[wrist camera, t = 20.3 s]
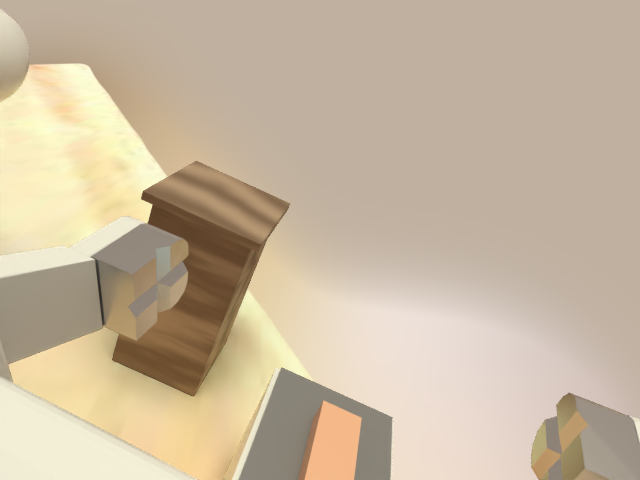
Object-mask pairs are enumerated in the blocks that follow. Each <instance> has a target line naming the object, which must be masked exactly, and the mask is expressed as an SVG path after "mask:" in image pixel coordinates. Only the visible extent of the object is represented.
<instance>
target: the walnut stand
mask: <svg viewBox="0 0 640 480" xmlns="http://www.w3.org/2000/svg"><path fill="white" fill-rule="evenodd" d="M141 199H142V200H144V201H146V202H149V203H151V204H153V206H152V209H151V213H150V217H149V221H148V224H150V225H152V226H155V227H157V228H159V229H162V230H164V231H166V232H169V233H171V234H173V235H176V236H178V237H180V238H183V239H184V240H185V241H186V242H187V243H188V256H187V257H186V258H185V259H184V260H183V263H184V265H185V267H186V269H187V271H188V281H187V284H186V288H185V291H184V292H183V294H182V296H181V297H180V299H179V301H178V302H177V303H176V304H175V305H174V306H173V307H172V308H171V309H169V310H165V311H162V312H158V317H157V322H156V323H155V324H154V325H153V326H152V327H151V328H150V329H149V330H148V331H147V332H146V333H144V334H143V335H142V336H141V337H140V338H139V339H138V340H137V341H136V340H134V339H131V338H129V337H127V336H124V335H122V334H120V333H119V335H118V339H117V343H116V347H115V351H114V355H113V358H112V360H114V361H116V362H118V363H120V364H122V365H125V366H127V367H129V368H131V369H134V370H136V371H138V372H140V373H142V374H145V375H147V376H149V377H151V378H154V379H156V380H158V381H160V382H162V383H165V384H167V385H169V386H171V387H174V388H176V389H178V390H180V391H182V392H185V393H187V394H189V395H191V396H194V395H195V393H196V392H197V390H198V388H199V387H200V385H201V383H202V382H203V380H204V378H205V377H206V375H207V373H208V372H209V370H210V368H211V367H212V365H213V363H214V362H215V360H216V358H217V356H218V355H219V353H220V351H221V350H222V348H223V346H224V345H225V343H226V340H227V338H228V335H229V333H230V330H231V328H232V325H233V323H234V320H235V318H236V315H237V313H238V310H239V308H240V305H241V303H242V301H243V298H244V296H245V293H246V291H247V288H248V285H249V283H250V281H251V278H252V276H253V273H254V271H255V268H256V266H257V263H258V261H259V258H260V256H261V253H262V251H263V248H264V246H265V243H266V241H267V238H268V237H269V236H270V234H271V233H272V231H273V230H274V229H275V227H276V226H277V224H278V223H279V221H280V220H281V219H282V217H283V216H284V214H285V213H286V211H287V210H288V208H289V205H290V203H287V202H285V201H283V200H281V199H279V198H277V197H275V196H272V195H270V194H268V193H266V192H264V191H261V190H259V189H257V188H255V187H253V186H250V185H248V184H246V183H244V182H242V181H239V180H237V179H235V178H233V177H230V176H228V175H226V174H224V173H222V172H220V171H217V170H215V169H213V168H211V167H209V166H206V165H204V164H202V163H200V162H198V161H195V162H194V163H192V164H190V165H188V166H186V167H185V168H183V169H181V170H180V171H178V172H176V173H174V174H172V175H171V176H169V177H167V178H165V179H163V180H162V181H160V182H158V183H156V184H155V185H153V186H151V187H149V188H148V189H146V190H144V191H143V193H142V197H141Z"/></svg>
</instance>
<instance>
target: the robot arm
mask: <svg viewBox="0 0 640 480" xmlns="http://www.w3.org/2000/svg"><path fill="white" fill-rule="evenodd" d="M29 61H30V51H29V46H28V41H27V39H26V36H25V34H24V32H23V31H22V29H21V28H20V26H19V25H18V24H17V23H16V22H15V21H14V20H13V19H12V18H10V16H9V15H7V14H6V13H5V12H4V11H3V10H2V9H0V102H2V101H4V100H5V99H7V98H8V97H10V96H11V95H13V94H14V93H15V92H16V91H17V90H18V89H19V87H20V86H21V85H22V83H23V81H24V80H25V78H26V75H27V72H28V69H29ZM187 256H188V243H187V242H186V241H185V240H184V239H183V238H180V237H178V236H176V235H173V234H171V233H169V232H166V231H164V230H162V229H159V228H157V227H155V226H152V225H150V224H146V223H144V222H142V221H139V220H137V219H135V218H132V217H130V216H122V217H120V218H119V219H117V220H115V221H113V222H112V223H110V224H108V225H107V226H105V227H103V228H102V229H100V230H98V231H97V232H95V233H93V234H91V235H90V236H88V237H86V238H85V239H83V240H81V241H80V242H78V243H76V244H75V245H73V246H71V247H70V248H67V247H65V246H57V247H51V248H45V249H38V250H32V251H26V252H20V253H14V254H7V255H1V256H0V480H199V479H197V478H195V477H193V476H191V475H189V474H187V473H185V472H183V471H181V470H179V469H177V468H176V467H174V466H172V465H170V464H168V463H166V462H164V461H162V460H160V459H158V458H156V457H154V456H152V455H151V454H149V453H147V452H145V451H143V450H141V449H139V448H137V447H135V446H133V445H131V444H129V443H128V442H126V441H124V440H122V439H120V438H118V437H116V436H114V435H112V434H110V433H108V432H106V431H104V430H103V429H101V428H99V427H97V426H95V425H93V424H91V423H89V422H87V421H85V420H83V419H81V418H80V417H78V416H76V415H74V414H72V413H70V412H68V411H66V410H64V409H62V408H60V407H58V406H56V405H55V404H53V403H51V402H49V401H47V400H45V399H43V398H41V397H39V396H37V395H35V394H33V393H32V392H30V391H28V390H26V389H24V388H22V387H20V386H18V385H16V384H14V383H13V380H12V376H11V373H10V369H9V366H8V364H10V363H13V362H16V361H18V360H21V359H24V358H26V357H29V356H32V355H34V354H37V353H39V352H42V351H45V350H47V349H50V348H53V347H55V346H58V345H60V344H63V343H66V342H68V341H71V340H74V339H76V338H79V337H82V336H84V335H87V334H89V333H92V332H95V331H97V330H100V329H102V328H103V327H106V328H108V329H110V330H113V331H115V332H117V333H120V334H122V335H124V336H127V337H129V338H131V339H134V340H136V341H137V340H138V339H139V338H140V337H141V336H142V335H143V334H144V333H146V332H147V331H148V330H149V329H150V328H151V327H152V326H153V325H154V324H155V323H156V322H157V317H158V312H162V311H165V310H169V309H171V308H172V307H173V306H174V305H175V304H176V303H177V302H178V301H179V299H180V297H181V296H182V294H183V292H184V291H185V288H186V284H187V281H188V271H187V269H186V267H185V265H184V263H183V260H184V259H185V258H186V257H187ZM556 407H557V417H554V418H550V419H546V420H545V421H544V422H543V424H542V425H541V427H540V428H539V430H538V431H537V434H536V437H535V440H534V442H533V447H532V454H531V467H532V469H533V471H534V472H535V474H536V476H537V478H538V479H539V480H640V419H637V418H634V417H632V416H629V415H625V414H622V413H620V412H617V411H615V410H612V409H610V408H607V407H604V406H602V405H599V404H597V403H594V402H592V401H589V400H586V399H584V398H581V397H579V396H576V395H574V394H571V393H568V394H567V395H565V396H563V398H562V399H561V400H560V401H559V402H558V404H557V405H556Z"/></svg>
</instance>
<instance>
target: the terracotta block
mask: <svg viewBox="0 0 640 480" xmlns="http://www.w3.org/2000/svg"><path fill="white" fill-rule="evenodd" d="M361 419H362V418H361V417H359V416H357V415H354V414H352V413H350V412H348V411H346V410H344V409H341V408H339V407H337V406H335V405H333V404H330V403H328V402H326V401H324V400H323V402H322V404H321V406H320V407H319V409H318V411H317V413H316V414H315V416H314V418H313V422H312V426H311V430H310V434H309V438H308V442H307V446H306V450H305V454H304V458H303V462H302V466H301V470H300V474H299V477H298V480H354V475H355V467H356V459H357V451H358V443H359V435H360V427H361Z"/></svg>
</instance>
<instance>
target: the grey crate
mask: <svg viewBox="0 0 640 480" xmlns="http://www.w3.org/2000/svg"><path fill="white" fill-rule="evenodd" d="M323 400H324V401H326V402H328V403H330V404H333V405H335V406H337V407H339V408H341V409H344V410H346V411H348V412H350V413H352V414H354V415H357V416H359V417H361V418H362V419H361V427H360V435H359V443H358V451H357V459H356V467H355V475H354V480H392V452H393V420H392V417H390V416H388V415H386V414H384V413H382V412H379V411H377V410H375V409H373V408H370V407H368V406H366V405H364V404H362V403H359V402H357V401H355V400H353V399H351V398H348V397H346V396H344V395H342V394H339V393H337V392H335V391H333V390H331V389H328V388H326V387H324V386H322V385H319V384H317V383H315V382H313V381H311V380H308V379H306V378H304V377H302V376H300V375H297V374H295V373H293V372H291V371H288V370H286V369H284V368H281V370H280V369H278V368H276V369H275V371H274V373H273V375H272V377H271V379H270V381H269V383H268V385H267V387H266V390H265V392H264V394H263V396H262V398H261V400H260V402H259V404H258V406H257V408H256V410H255V412H254V414H253V417H252V419H251V421H250V423H249V425H248V427H247V429H246V431H245V433H244V435H243V437H242V439H241V441H240V443H239V446H238V448H237V450H236V452H235V454H234V456H233V458H232V461H231V463H230V465H229V468H228V470H227V473H226V475H225V477H224V480H298V477H299V474H300V470H301V466H302V462H303V458H304V454H305V450H306V446H307V442H308V438H309V434H310V430H311V426H312V422H313V418H314V416H315V414H316V413H317V411H318V409H319V407H320V406H321V404H322V402H323Z"/></svg>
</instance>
